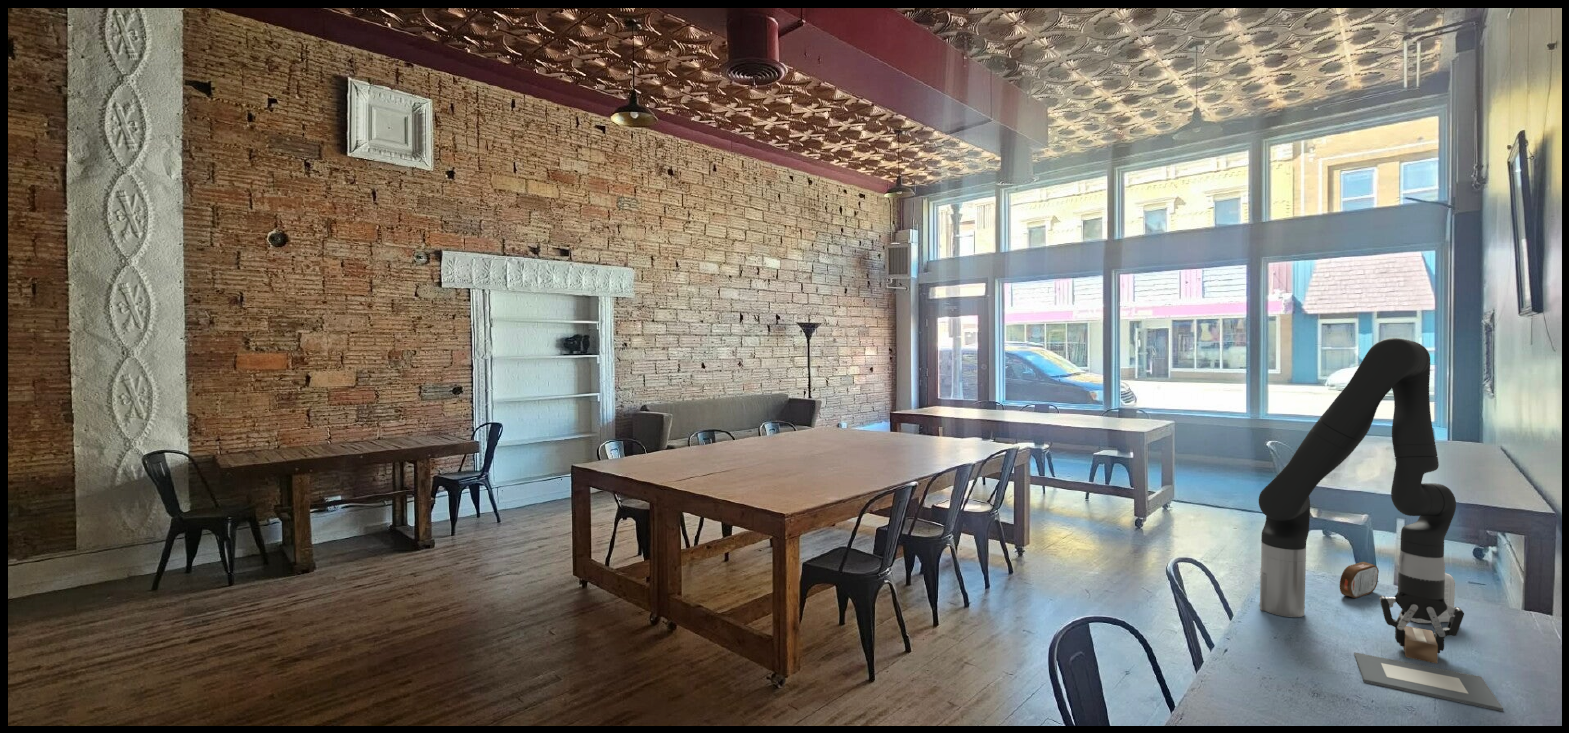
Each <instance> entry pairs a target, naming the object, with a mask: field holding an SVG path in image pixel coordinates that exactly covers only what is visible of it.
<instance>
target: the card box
mask: <svg viewBox="0 0 1569 733" xmlns="http://www.w3.org/2000/svg"><path fill="white" fill-rule="evenodd" d="M1404 630H1405V643H1404V647H1403V646H1402V648H1403V651H1404V655H1405V658H1409V659H1412V660H1418V661H1422V662H1423V661H1424V662H1427V663H1433V664H1438V657H1439V656H1438V654H1439V653H1438V645H1437V642H1436V640H1435V637H1434V632H1433V630H1429V629H1424V628H1418V627H1415V626H1414V627H1413V626H1408V625H1406V627H1405V628H1404Z"/></svg>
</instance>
